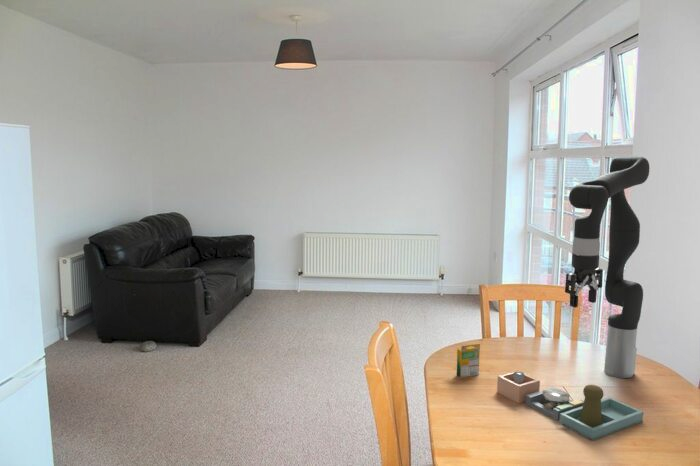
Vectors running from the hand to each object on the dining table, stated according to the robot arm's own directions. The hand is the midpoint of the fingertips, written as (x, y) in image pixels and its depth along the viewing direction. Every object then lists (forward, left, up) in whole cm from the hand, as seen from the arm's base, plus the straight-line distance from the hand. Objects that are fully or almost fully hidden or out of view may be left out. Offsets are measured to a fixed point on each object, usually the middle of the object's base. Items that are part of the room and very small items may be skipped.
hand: (582, 304), depth 168 cm
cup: (+14, -11, -31) cm, 36 cm away
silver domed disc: (+11, +1, -30) cm, 32 cm away
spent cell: (+14, -11, -30) cm, 35 cm away
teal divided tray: (+6, +13, -31) cm, 34 cm away
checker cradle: (+11, +1, -31) cm, 33 cm away
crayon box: (+17, -31, -31) cm, 47 cm away
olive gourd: (+10, +13, -31) cm, 34 cm away
